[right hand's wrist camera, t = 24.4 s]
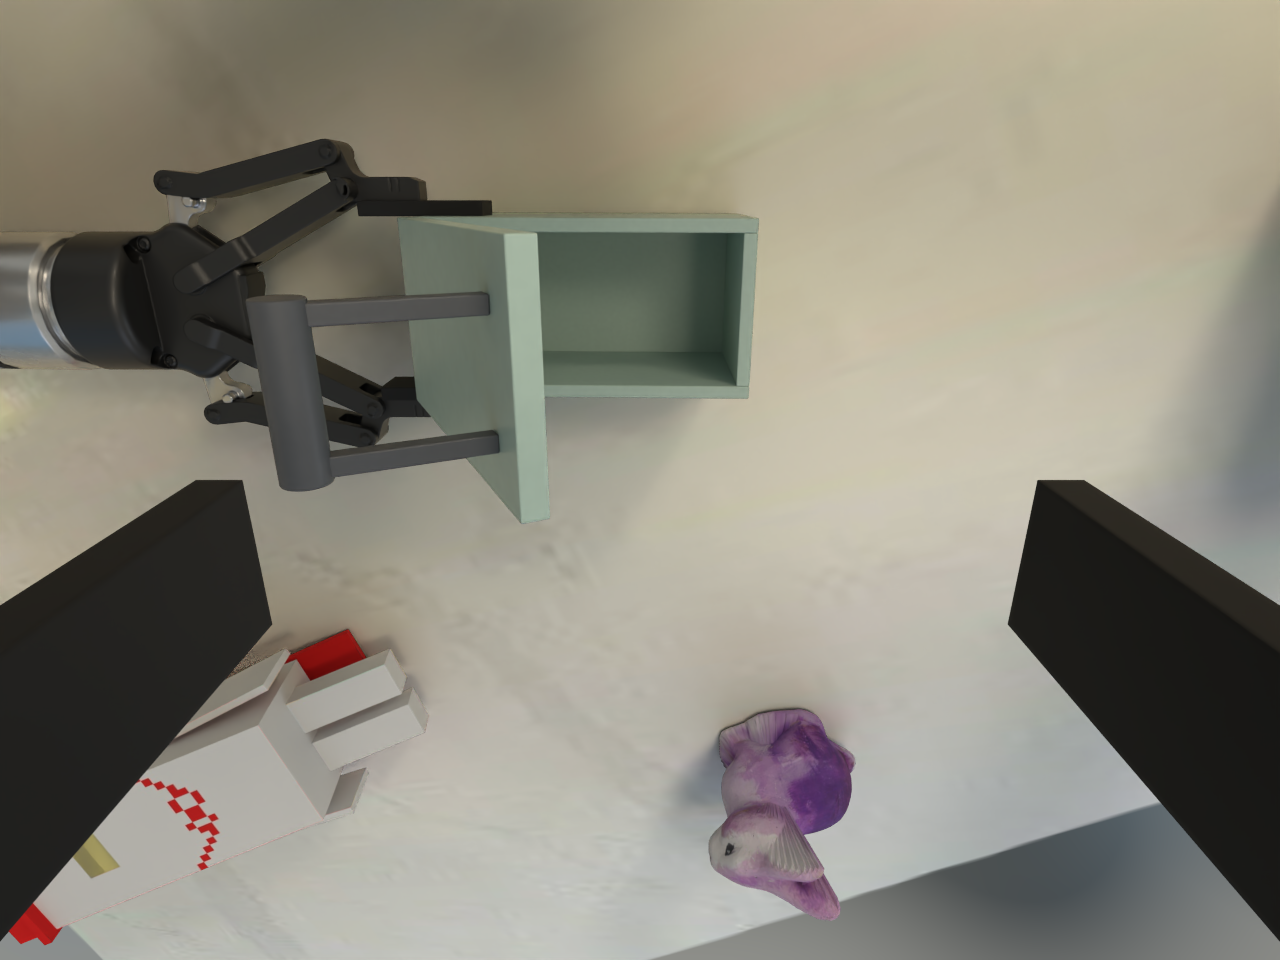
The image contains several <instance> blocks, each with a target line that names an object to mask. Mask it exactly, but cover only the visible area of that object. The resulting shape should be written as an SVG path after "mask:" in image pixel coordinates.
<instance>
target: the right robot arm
mask: <svg viewBox="0 0 1280 960" xmlns="http://www.w3.org/2000/svg"><path fill="white" fill-rule="evenodd" d="M271 625H272V621H271V616H270V611H269V606H268V602H267V597H266V592H265V587H264V582H263V577H262V573H261V568H260V563H259V558H258V553H257V548H256V544H255V539H254V534H253V529H252V524H251V520H250V515H249V510H248V505H247V500H246V495H245V491H244V486H243V481H242V480H195V481H194V482H192V483H191V484H189V485H188V486H186V487H184V488H183V489H181V490H180V491H178V492H177V493H175V494H174V495H172V496H170V497H169V498H167V499H166V500H164V501H163V502H161V503H159V504H158V505H156V506H155V507H153V508H152V509H150V510H149V511H147V512H145V513H144V514H142V515H141V516H139V517H138V518H136V519H135V520H133V521H131V522H130V523H128V524H127V525H125V526H124V527H122V528H120V529H119V530H117V531H116V532H114V533H113V534H111V535H110V536H108V537H106V538H105V539H103V540H102V541H100V542H99V543H97V544H95V545H94V546H92V547H91V548H89V549H88V550H86V551H85V552H83V553H81V554H80V555H78V556H77V557H75V558H74V559H72V560H70V561H69V562H67V563H66V564H64V565H63V566H61V567H60V568H58V569H56V570H55V571H53V572H52V573H50V574H49V575H47V576H46V577H44V578H42V579H41V580H39V581H38V582H36V583H35V584H33V585H31V586H30V587H28V588H27V589H25V590H24V591H22V592H21V593H19V594H17V595H16V596H14V597H13V598H11V599H10V600H8V601H6V602H5V603H3V604H2V605H0V941H1V940H2V939H3V937H4V936H5V935H6V934H7V933H8V932H9V931H10V929H11V928H12V927H13V926H14V925H15V924H16V922H17V921H18V920H19V919H20V918H21V917H22V915H23V914H24V913H25V912H26V911H27V910H28V908H29V907H30V906H31V905H32V904H33V903H34V901H35V900H36V899H37V898H38V897H39V896H40V894H41V893H42V892H43V891H44V890H45V889H46V887H47V886H48V885H49V884H50V883H51V882H52V880H53V879H54V878H55V877H56V876H57V875H58V873H59V872H60V871H61V870H62V869H63V868H64V866H65V865H66V864H67V863H68V862H69V861H70V859H71V858H72V857H73V856H74V855H75V854H76V852H77V851H78V850H79V849H80V848H81V847H82V845H83V844H84V843H85V842H86V841H87V840H88V838H89V837H90V836H91V835H92V834H93V833H94V831H95V830H96V829H97V828H98V827H99V826H100V824H101V823H102V822H103V821H104V820H105V819H106V817H107V816H108V815H109V814H110V813H111V812H112V810H113V809H114V808H115V807H116V806H117V805H118V803H119V802H120V801H121V800H122V799H123V798H124V797H125V795H126V794H127V793H128V792H129V791H130V790H131V788H132V787H133V786H134V785H135V784H136V783H137V781H138V780H139V779H140V778H141V777H142V776H143V774H144V773H145V772H146V771H147V770H148V769H149V767H150V766H151V765H152V764H153V763H154V762H155V760H156V759H157V758H158V757H159V756H160V755H161V753H162V752H163V751H164V750H165V749H166V748H167V746H168V745H169V744H170V743H171V742H172V741H173V739H174V738H175V737H176V736H177V735H178V734H179V732H180V731H181V730H182V729H183V728H184V727H185V725H186V724H187V723H188V722H189V721H190V720H191V718H192V717H193V716H194V715H195V714H196V713H197V711H198V710H199V709H200V708H201V707H202V706H203V704H204V703H205V702H206V701H207V700H208V699H209V697H210V696H211V695H212V694H213V693H214V692H215V690H216V689H217V688H218V687H219V686H220V685H221V683H222V682H223V681H224V680H225V679H226V678H227V676H228V675H229V674H230V673H231V672H232V671H233V669H234V668H235V667H236V666H237V665H238V664H239V662H240V661H241V660H242V659H243V658H244V657H245V655H246V654H247V653H248V652H249V651H250V650H251V648H252V647H253V646H254V645H255V644H256V643H257V642H258V640H259V639H260V638H261V637H262V636H263V635H264V633H265V632H266V631H267V630H268V629H269V628H270V626H271ZM1008 625H1009V626H1010V628H1011V629H1012V630H1013V631H1014V632H1015V633H1016V635H1017V636H1018V637H1019V638H1020V639H1021V640H1022V642H1023V643H1024V644H1025V645H1026V646H1027V647H1028V648H1029V650H1030V651H1031V652H1032V653H1033V654H1034V655H1035V657H1036V658H1037V659H1038V660H1039V661H1040V662H1041V664H1042V665H1043V666H1044V667H1045V668H1046V669H1047V671H1048V672H1049V673H1050V674H1051V675H1052V676H1053V678H1054V679H1055V680H1056V681H1057V682H1058V683H1059V685H1060V686H1061V687H1062V688H1063V689H1064V690H1065V692H1066V693H1067V694H1068V695H1069V696H1070V697H1071V699H1072V700H1073V701H1074V702H1075V703H1076V704H1077V706H1078V707H1079V708H1080V709H1081V710H1082V711H1083V713H1084V714H1085V715H1086V716H1087V717H1088V718H1089V720H1090V721H1091V722H1092V723H1093V724H1094V725H1095V727H1096V728H1097V729H1098V730H1099V731H1100V732H1101V734H1102V735H1103V736H1104V737H1105V738H1106V739H1107V741H1108V742H1109V743H1110V744H1111V745H1112V746H1113V748H1114V749H1115V750H1116V751H1117V752H1118V753H1119V755H1120V756H1121V757H1122V758H1123V759H1124V760H1125V762H1126V763H1127V764H1128V765H1129V766H1130V767H1131V769H1132V770H1133V771H1134V772H1135V773H1136V774H1137V776H1138V777H1139V778H1140V779H1141V780H1142V781H1143V783H1144V784H1145V785H1146V786H1147V787H1148V788H1149V790H1150V791H1151V792H1152V793H1153V794H1154V795H1155V797H1156V798H1157V799H1158V800H1159V801H1160V802H1161V804H1162V805H1163V806H1164V807H1165V808H1166V809H1167V810H1168V812H1169V813H1170V814H1171V815H1172V816H1173V817H1174V819H1175V820H1176V821H1177V822H1178V823H1179V824H1180V826H1181V827H1182V828H1183V829H1184V830H1185V831H1186V833H1187V834H1188V835H1189V836H1190V837H1191V838H1192V840H1193V841H1194V842H1195V843H1196V844H1197V845H1198V847H1199V848H1200V849H1201V850H1202V851H1203V852H1204V854H1205V855H1206V856H1207V857H1208V858H1209V859H1210V861H1211V862H1212V863H1213V864H1214V865H1215V866H1216V867H1217V869H1218V870H1219V871H1220V872H1221V873H1222V875H1223V876H1224V877H1225V878H1226V879H1227V880H1228V882H1229V883H1230V884H1231V885H1232V886H1233V887H1234V889H1235V890H1236V891H1237V892H1238V893H1239V894H1240V896H1241V897H1242V898H1243V899H1244V900H1245V901H1246V903H1247V904H1248V905H1249V906H1250V907H1251V908H1252V910H1253V911H1254V912H1255V913H1256V914H1257V915H1258V917H1259V918H1260V919H1261V920H1262V921H1263V922H1264V924H1265V925H1266V926H1267V927H1268V928H1269V929H1270V931H1271V932H1272V933H1273V934H1274V935H1275V936H1276V937H1277V939H1278V940H1279V941H1280V605H1278V604H1277V603H1275V602H1274V601H1272V600H1270V599H1269V598H1267V597H1266V596H1264V595H1263V594H1261V593H1259V592H1258V591H1256V590H1255V589H1253V588H1252V587H1250V586H1249V585H1247V584H1245V583H1244V582H1242V581H1241V580H1239V579H1238V578H1236V577H1234V576H1233V575H1231V574H1230V573H1228V572H1227V571H1225V570H1224V569H1222V568H1220V567H1219V566H1217V565H1216V564H1214V563H1213V562H1211V561H1210V560H1208V559H1206V558H1205V557H1203V556H1202V555H1200V554H1199V553H1197V552H1195V551H1194V550H1192V549H1191V548H1189V547H1188V546H1186V545H1185V544H1183V543H1181V542H1180V541H1178V540H1177V539H1175V538H1174V537H1172V536H1170V535H1169V534H1167V533H1166V532H1164V531H1163V530H1161V529H1160V528H1158V527H1156V526H1155V525H1153V524H1152V523H1150V522H1149V521H1147V520H1145V519H1144V518H1142V517H1141V516H1139V515H1138V514H1136V513H1135V512H1133V511H1131V510H1130V509H1128V508H1127V507H1125V506H1124V505H1122V504H1121V503H1119V502H1117V501H1116V500H1114V499H1113V498H1111V497H1110V496H1108V495H1106V494H1105V493H1103V492H1102V491H1100V490H1099V489H1097V488H1096V487H1094V486H1092V485H1091V484H1089V483H1088V482H1086V481H1085V480H1038V481H1037V486H1036V491H1035V495H1034V500H1033V505H1032V510H1031V515H1030V520H1029V524H1028V529H1027V534H1026V539H1025V544H1024V548H1023V553H1022V558H1021V563H1020V568H1019V573H1018V577H1017V582H1016V587H1015V592H1014V597H1013V602H1012V606H1011V611H1010V616H1009V621H1008Z"/></svg>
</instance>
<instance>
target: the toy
mask: <svg viewBox="0 0 1280 960" xmlns="http://www.w3.org/2000/svg"><path fill="white" fill-rule="evenodd" d="M406 679H407V676H406V675H405V673H404V671H403V670H402V668H401V666H400V664H399V663H398V661H397V659H396V658H395V656H394V654H393V652H392V651H391V649H388V650H385V651H383V652H380V653H378V654H375V655H373V656H370V657H368V658H366V656H365V655H364V653H363V652H362V650H361V648H360V647H359V645H358V644H357V642H356V641H355V639H354V637H353V636H352V634H351V633H350V631H349V630H345V631H343V632H341V633H339V634H336V635H334V636H332V637H330V638H327V639H325V640H323V641H321V642H318V643H316V644H314V645H312V646H309V647H307V648H305V649H303V650H300V651H298V652H296V653H294V654H291V655H290V652H289V651H288V650H287V649H286V648H285V649H283V650H281V651H279V652H277V653H276V654H274V655H272V656H270V657H268V658H266V659H264V660H262V661H260V662H258V663H256V664H254V665H252V666H251V667H249V668H247V669H245V670H243V671H241V672H239V673H237V674H235V675H233V676H231V677H229V678H227V679H226V680H224V681H223V682H222V683H221V685H220V686H219V687H218V688H217V689H216V690H215V692H214V693H213V694H212V695H211V696H210V697H209V699H208V700H207V701H206V702H205V703H204V704H203V706H202V707H201V708H200V709H199V710H198V711H197V713H196V714H195V715H194V716H193V717H192V718H191V720H190V721H189V722H188V723H187V724H186V725H185V727H184V728H183V729H182V730H181V731H180V732H179V734H178V735H177V736H176V737H175V738H174V739H173V741H172V742H171V743H170V744H169V745H168V746H167V748H166V749H165V750H164V751H163V752H162V753H161V755H160V756H159V757H158V758H157V759H156V760H155V762H154V763H153V764H152V765H151V766H150V767H149V769H148V770H147V771H146V772H145V773H144V774H143V776H142V777H141V778H140V779H139V780H138V781H137V783H136V784H135V785H134V786H133V787H132V788H131V790H130V791H129V792H128V793H127V794H126V795H125V797H124V798H123V799H122V800H121V801H120V802H119V803H118V805H117V806H116V807H115V808H114V809H113V810H112V812H111V813H110V814H109V815H108V816H107V817H106V819H105V820H104V821H103V822H102V823H101V824H100V826H99V827H98V828H97V829H96V830H95V831H94V833H93V834H92V835H91V836H90V837H89V838H88V840H87V841H86V842H85V843H84V844H83V845H82V847H81V848H80V849H79V850H78V851H77V852H76V854H75V855H74V856H73V857H72V858H71V859H70V861H69V862H68V863H67V864H66V865H65V866H64V868H63V869H62V870H61V871H60V872H59V873H58V875H57V876H56V877H55V878H54V879H53V880H52V882H51V883H50V884H49V885H48V886H47V887H46V889H45V890H44V891H43V892H42V893H41V894H40V896H39V897H38V898H37V899H36V900H35V901H34V903H33V904H32V905H31V906H30V907H29V908H28V910H27V911H26V912H25V913H24V914H23V915H22V917H21V918H20V919H19V920H18V921H17V922H16V924H15V925H14V926H13V927H12V928H11V929H10V931H9V932H10V933H11V934H12V935H13V936H14V937H15V938H16V940H17V941H18V942H19V943H20V944H22V943H24V942H27V941H29V940H32V939H34V938H38V939H39V940H40V941H41V942H42V943H43V944H44V945H47V944H49V943H52V942H53V940H54V939H55V937H56V936H57V934H58V933H59V932H60V930H61V929H62V927H64V926H66V925H69V924H71V923H73V922H76V921H78V920H81V919H83V918H86V917H88V916H91V915H93V914H95V913H98V912H100V911H103V910H105V909H108V908H110V907H113V906H115V905H117V904H120V903H122V902H125V901H127V900H130V899H132V898H135V897H137V896H139V895H142V894H144V893H147V892H149V891H152V890H154V889H157V888H159V887H161V886H164V885H166V884H169V883H171V882H174V881H176V880H179V879H181V878H183V877H186V876H188V875H191V874H193V873H196V872H198V871H201V870H203V869H205V868H208V867H210V866H213V865H215V864H218V863H220V862H222V861H225V860H227V859H230V858H232V857H235V856H237V855H240V854H242V853H244V852H247V851H249V850H252V849H254V848H257V847H259V846H262V845H264V844H266V843H269V842H271V841H274V840H276V839H279V838H281V837H284V836H286V835H288V834H291V833H293V832H296V831H298V830H302V829H305V828H308V827H311V826H314V825H318V824H321V823H324V822H327V821H330V820H333V819H337V818H340V817H343V816H346V815H349V814H353V813H354V811H355V809H356V806H357V803H358V801H359V798H360V795H361V792H362V790H363V787H364V784H365V782H366V779H367V776H368V774H369V772H368V770H367V768H363V769H360V770H357V771H354V772H350V773H347V774H344V775H341V772H342V769H343V767H344V765H347V764H349V763H351V762H354V761H356V760H359V759H361V758H364V757H366V756H369V755H371V754H373V753H376V752H378V751H381V750H383V749H386V748H388V747H391V746H393V745H395V744H398V743H400V742H403V741H405V740H408V739H410V738H413V737H415V736H417V735H420V734H422V733H425V730H426V725H427V721H428V717H429V714H428V712H427V711H426V709H425V707H424V705H423V704H422V702H421V700H420V699H419V697H418V695H417V694H416V692H415V690H414V688H413V687H412V688H410V689H408V690H405V691H403V688H404V685H405V682H406ZM340 775H341V776H340Z"/></svg>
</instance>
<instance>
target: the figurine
mask: <svg viewBox="0 0 1280 960" xmlns="http://www.w3.org/2000/svg"><path fill="white" fill-rule="evenodd" d="M719 742H720V746H719V747H720V751H719V752H720V758H721V761H722V762H723V763H724V767H725V768H726V771H725V773H724V775H723V778H722V786H721V790H722V799H723V803H724V806H725V810H726V812H727V817H728V818H727V819H726V821H725V822H724V823H723V824H722V825H721V826H720V827H719V828H718V829H717V830H716V831H715V832H714V834H713V835H712V836H711V837H710V840H709V855H710V862H711V865H712V867H713V868H714V870H715V871H717V872H718V873H720V874H722V875H723V876H725V877H726V878H728V879H730V880H731V881H733V882H735V883H737V884H740V885H742V886H745V887H750V888H756V889H760V890H765V891H768V892H770V893H773V894H775V895H776V896H778V897H780V898H782V899H784V900H785V901H787V902H789V903H790V904H792V905H793V906H795V907H796V908H798V909H800V910H802V911H803V912H805V913H807V914H809V915H810V916H813V917H815V918H817V919H821V920H829V921H831V920H834V919H836V918H837V917H838V916H839V914H840V905H839V901H838V898H837V896H836V894H835V893H834V891H833V889H832V888H831V886H830V884H829V882H828V881H827V879H826V877H825V875H824V874H823V872H824V868H823V866H822V864H821V863H820V861H819V859H818V858H817V856H816V854H815V853H814V851H813V849H812V848H811V846H810V844H809V843H808V841H807V839H806V838H805V836H804V835H805V834H810V833H814V832H818V831H821V830H824V829H826V828H828V827H830V826H832V825H834V824H835V823H837V822H838V821H839V820H840V819H841V818H842V817H843V815H844V814H845V812H846V810H847V808H848V805H849V802H850V798H851V791H852V784H851V776H850V773H851V772H852V771H853V769H854V767H855V764H856V763H855V758H854V756H853V754H852V753H851V752H850V751H848V750H847V749H845V748H843V747H841V746H839V745H837V744H836V743H834V742H832V741H831V740H829V739H828V738H827V736H826V733H825V730H824V727H823V725H822V722H821V720H820V719H819V717H818V716H816V715H815V714H813V713H811V712H808V711H806V710H803V709H795V710H781V711H771V712H766V713H762V714H757V715H756V716H754V717H752V718H750V719H749V720H747V721H746V722H745V723H741V724H739V725H736V726H734V727H730V728H728V729H726V730H724V731H722V732H721V735H720V737H719Z"/></svg>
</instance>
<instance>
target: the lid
mask: <svg viewBox="0 0 1280 960" xmlns="http://www.w3.org/2000/svg"><path fill="white" fill-rule="evenodd" d="M397 221H398V230H399V239H400V248H401V258H402V267H403V276H404V285H405V295H403V296H383V297H364V298H345V299H325V300H307V298H306V297H305V296H301V295H267V296H258V297H252V298H249V299H246V307H247V313H248V318H249V323H250V329H251V334H252V340H253V345H254V350H255V356H256V361H257V367H258V372H259V377H260V383H261V388H262V394H263V399H264V405H265V410H266V415H267V421H268V426H269V432H270V437H271V442H272V448H273V453H274V459H275V464H276V469H277V475H278V480H279V485H280V487H281V488H282V489H284V490H287V491H296V492H300V491H310V490H315V489H319V488H322V487H325V486H327V485H329V484H331V483H332V482H333V481H334V478H335V477H340V476H347V475H353V474H360V473H367V472H374V471H381V470H388V469H394V468H401V467H408V466H415V465H422V464H429V463H435V462H442V461H449V460H456V459H463V458H466V459H467V460H468V461H469V462H470V463H471V465H472V466H473V467H474V468H475V469H476V471H477V472H478V473H479V474H480V475H481V477H482V478H483V479H484V480H485V481H486V482H487V484H488V485H489V486H490V487H491V488H492V490H493V491H494V492H495V493H496V494H497V496H498V497H499V498H500V499H501V500H502V502H503V503H504V504H505V505H506V506H507V507H508V509H509V510H510V511H511V512H512V513H513V515H514V516H515V517H516V518H517V519H518V521H519V522H520V523H521V524H525V523H530V522H535V521H540V520H546V519H549V518H550V508H549V486H548V463H547V440H546V418H545V395H544V373H543V350H542V328H541V305H540V283H539V260H538V238H537V233H534V232H527V231H519V230H511V229H504V228H496V227H489V226H481V225H473V224H466V223H458V222H451V221H443V220H435V219H428V218H420V217H398V218H397ZM397 321H408V322H409V332H410V341H411V350H412V359H413V368H414V378H415V387H416V396H417V400H418V402H419V403H420V404H421V405H422V406H423V407H424V409H425V410H426V411H427V412H428V413H429V415H430V416H431V417H432V418H433V419H434V421H435V422H436V423H437V424H438V425H439V427H440V428H441V429H442V430H443V431H444V432H445V434H446V435H447V436H441V437H433V438H426V439H418V440H410V441H403V442H395V443H388V444H380V445H373V446H365V447H357V448H350V449H342V450H335V451H330V445H329V438H328V432H327V426H326V419H325V413H324V406H323V400H322V393H321V387H320V381H319V374H318V368H317V361H316V355H315V348H314V342H313V336H312V329H311V327H321V326H336V325H351V324H366V323H382V322H397Z"/></svg>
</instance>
